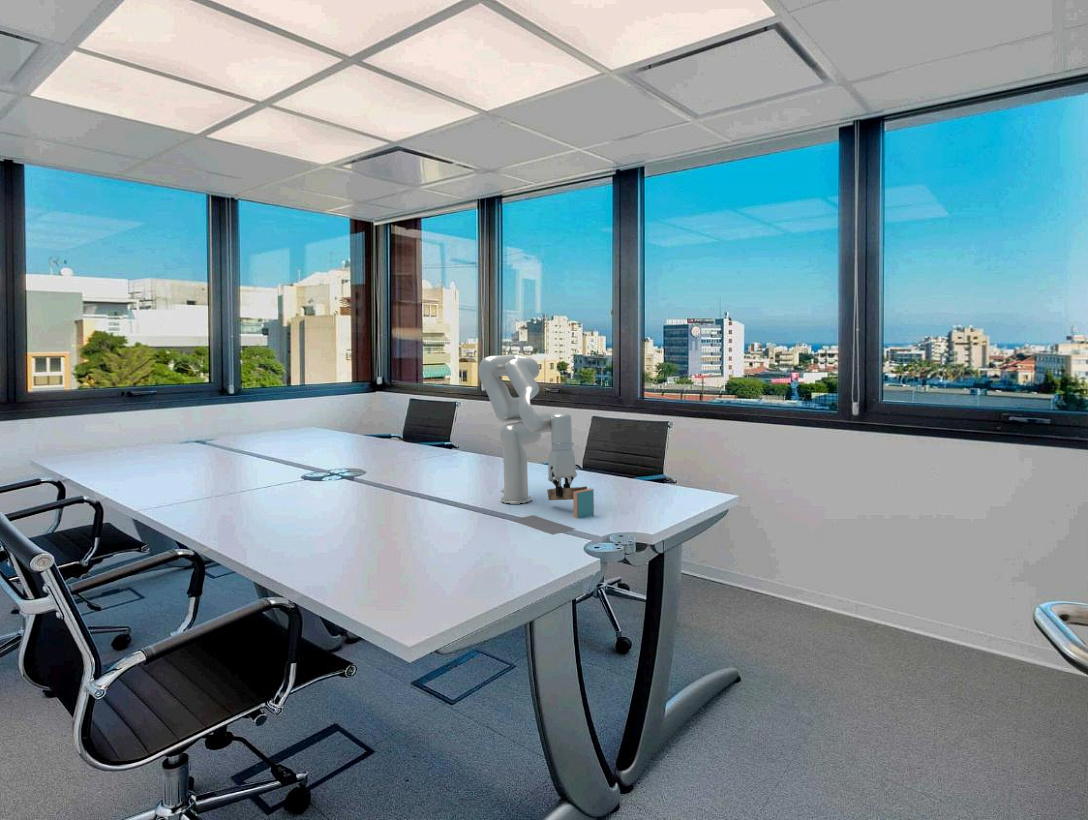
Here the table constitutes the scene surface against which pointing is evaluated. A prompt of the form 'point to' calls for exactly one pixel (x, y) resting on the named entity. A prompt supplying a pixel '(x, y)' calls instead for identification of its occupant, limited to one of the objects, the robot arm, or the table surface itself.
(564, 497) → the wooden beam
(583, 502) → the tile
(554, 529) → the tool mat
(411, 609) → the table surface
